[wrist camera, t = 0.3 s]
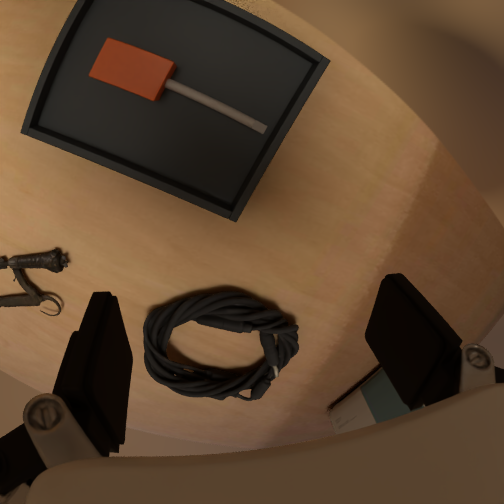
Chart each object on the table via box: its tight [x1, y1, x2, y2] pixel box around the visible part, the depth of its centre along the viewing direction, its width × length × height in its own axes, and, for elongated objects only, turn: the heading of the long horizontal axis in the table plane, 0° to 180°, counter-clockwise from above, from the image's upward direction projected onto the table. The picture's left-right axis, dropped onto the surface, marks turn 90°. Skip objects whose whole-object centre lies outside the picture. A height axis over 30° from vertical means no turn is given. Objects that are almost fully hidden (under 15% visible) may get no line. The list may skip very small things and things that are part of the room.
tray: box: [21, 0, 330, 222], centre depth 20 cm, size 19×15×2 cm
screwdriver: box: [89, 37, 267, 134], centre depth 19 cm, size 13×3×3 cm, turn 61°
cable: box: [143, 291, 299, 401], centre depth 31 cm, size 17×14×4 cm
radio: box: [329, 367, 425, 435], centre depth 35 cm, size 21×8×20 cm, turn 142°
